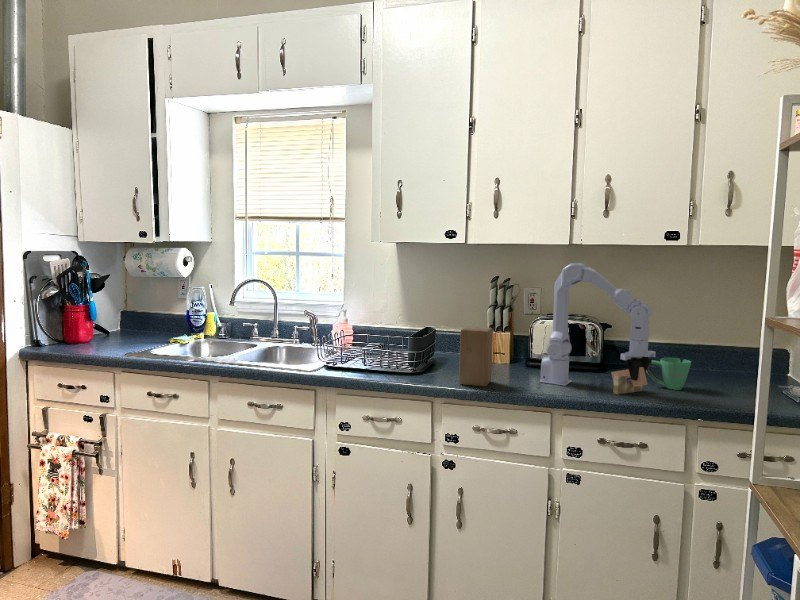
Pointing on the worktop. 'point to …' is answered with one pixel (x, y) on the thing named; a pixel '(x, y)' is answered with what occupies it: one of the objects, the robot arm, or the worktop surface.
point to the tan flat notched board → (639, 382)
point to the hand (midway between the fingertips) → (637, 379)
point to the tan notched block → (624, 385)
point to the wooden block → (475, 356)
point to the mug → (672, 372)
